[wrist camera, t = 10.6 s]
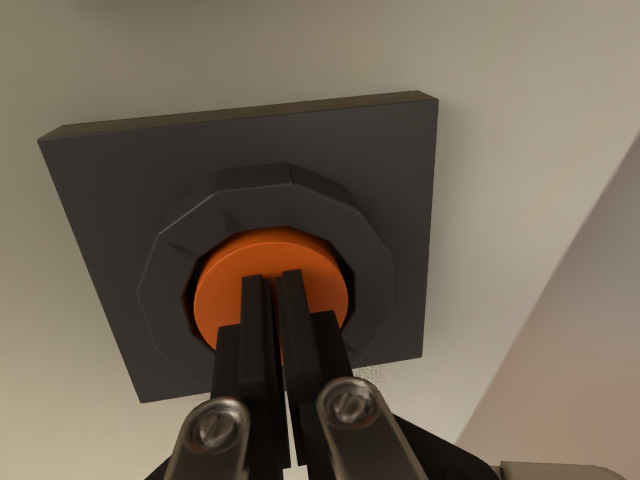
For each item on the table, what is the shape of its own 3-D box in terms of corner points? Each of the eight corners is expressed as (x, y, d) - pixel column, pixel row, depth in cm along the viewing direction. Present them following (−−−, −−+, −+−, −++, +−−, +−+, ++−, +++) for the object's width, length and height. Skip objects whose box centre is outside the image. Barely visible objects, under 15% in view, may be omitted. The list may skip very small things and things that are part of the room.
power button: (214, 339, 14) (210, 378, 13) (186, 224, 12) (177, 254, 11) (340, 320, 15) (350, 355, 13) (333, 206, 13) (345, 232, 11)
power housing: (149, 370, 17) (127, 447, 14) (61, 125, 12) (-2, 159, 9) (408, 330, 18) (440, 393, 15) (418, 90, 13) (468, 109, 10)
